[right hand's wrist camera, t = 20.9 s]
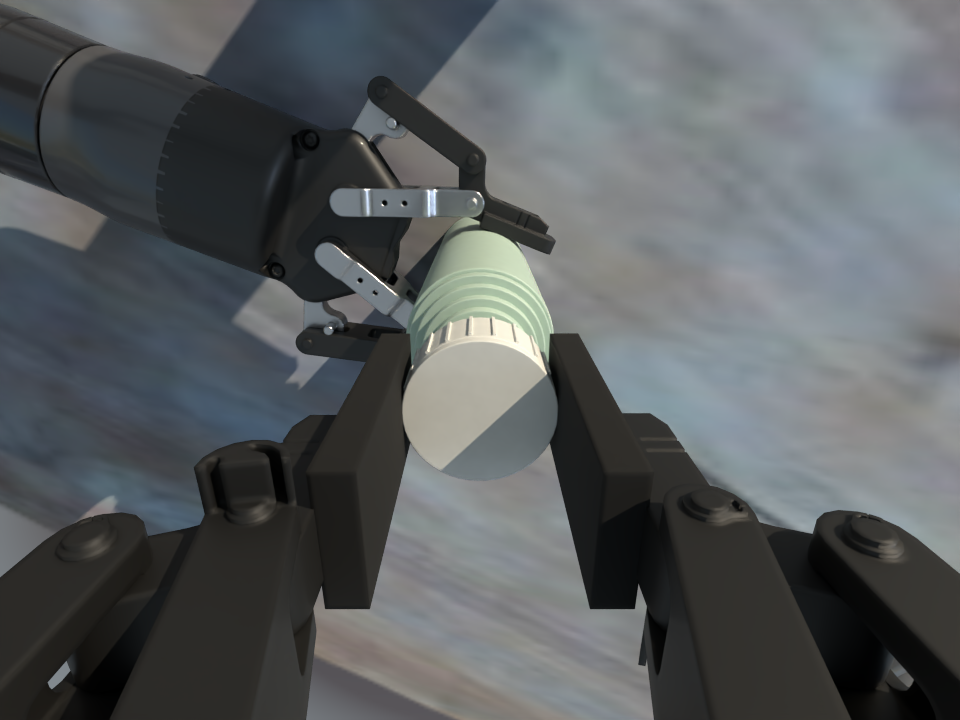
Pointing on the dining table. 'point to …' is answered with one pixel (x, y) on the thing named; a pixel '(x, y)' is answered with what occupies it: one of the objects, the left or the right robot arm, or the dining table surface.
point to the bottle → (479, 286)
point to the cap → (479, 400)
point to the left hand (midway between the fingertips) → (527, 295)
